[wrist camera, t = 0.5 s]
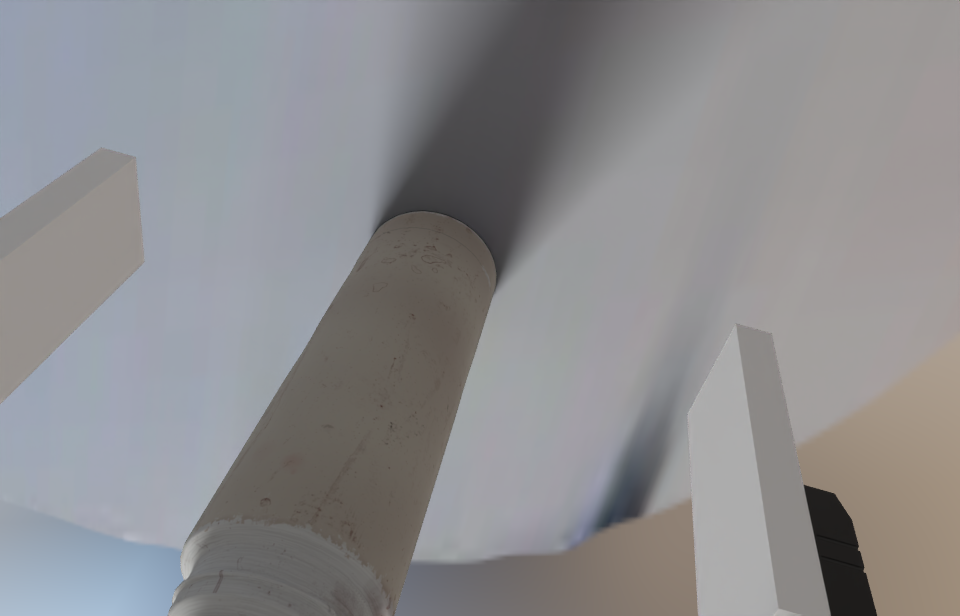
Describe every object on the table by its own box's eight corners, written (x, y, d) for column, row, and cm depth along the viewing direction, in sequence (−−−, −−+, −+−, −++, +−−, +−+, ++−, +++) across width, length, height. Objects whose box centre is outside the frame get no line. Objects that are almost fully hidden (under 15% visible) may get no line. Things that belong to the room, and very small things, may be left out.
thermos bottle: (391, 330, 48) (162, 814, 26) (347, 221, 44) (30, 683, 22) (511, 316, 46) (374, 836, 23) (476, 200, 42) (270, 693, 19)
